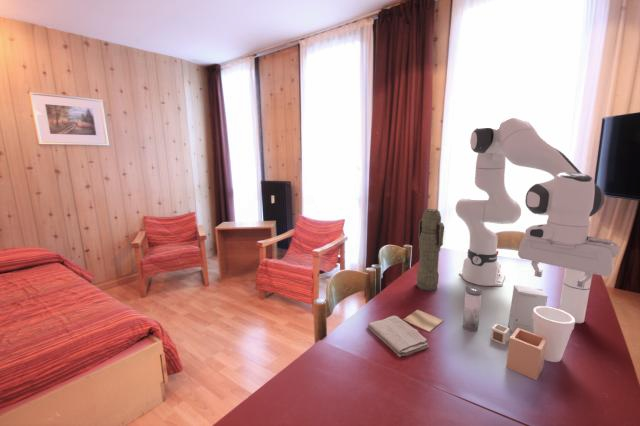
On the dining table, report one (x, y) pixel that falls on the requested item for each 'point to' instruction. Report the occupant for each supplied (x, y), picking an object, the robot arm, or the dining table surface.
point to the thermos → (429, 249)
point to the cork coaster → (423, 320)
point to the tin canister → (472, 308)
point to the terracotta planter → (526, 353)
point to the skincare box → (525, 307)
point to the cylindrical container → (574, 295)
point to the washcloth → (398, 335)
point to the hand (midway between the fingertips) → (558, 281)
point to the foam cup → (553, 330)
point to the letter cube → (500, 333)
